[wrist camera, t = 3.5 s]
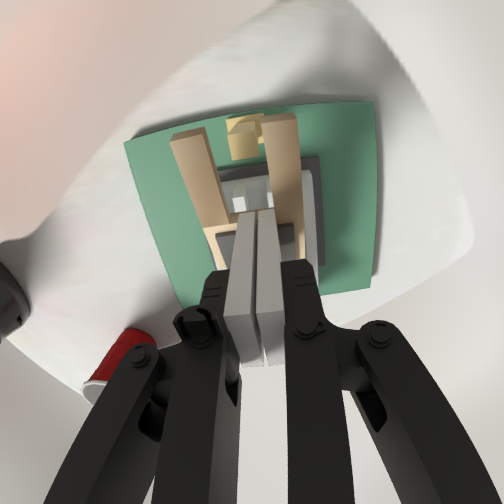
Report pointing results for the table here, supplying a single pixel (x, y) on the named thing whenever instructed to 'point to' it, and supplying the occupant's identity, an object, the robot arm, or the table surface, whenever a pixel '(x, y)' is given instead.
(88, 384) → the plastic cup
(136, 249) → the table surface
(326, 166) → the board
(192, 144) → the strap
